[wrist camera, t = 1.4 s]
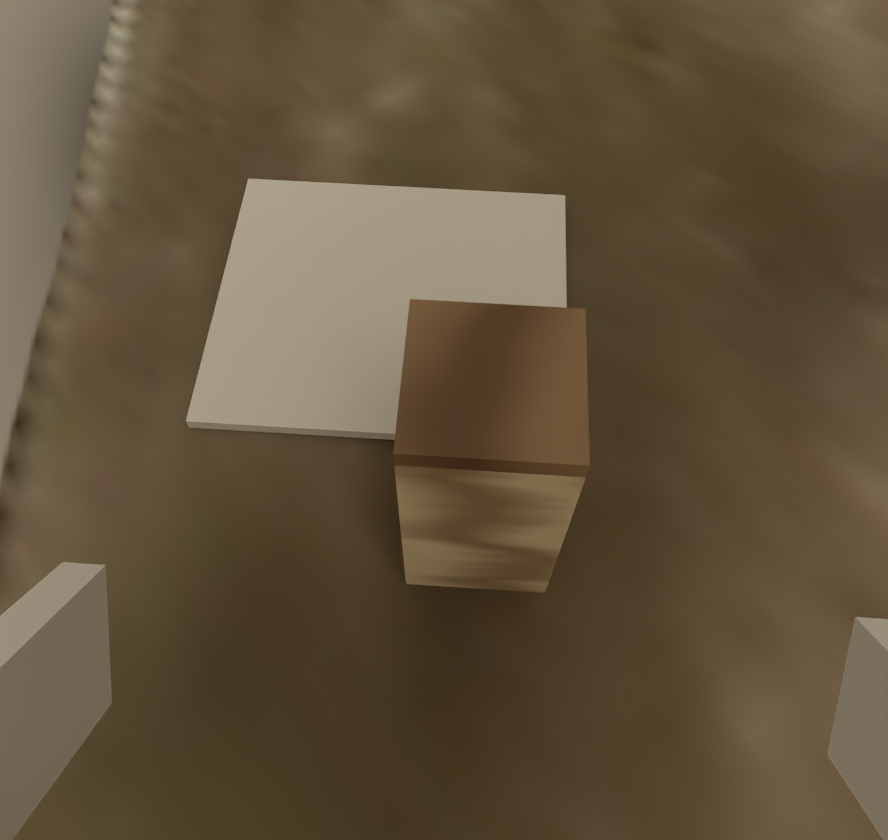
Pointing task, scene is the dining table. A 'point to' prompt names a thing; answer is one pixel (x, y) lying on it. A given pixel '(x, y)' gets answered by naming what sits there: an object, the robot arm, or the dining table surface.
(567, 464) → the oak block
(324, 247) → the felt mat
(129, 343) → the dining table surface
